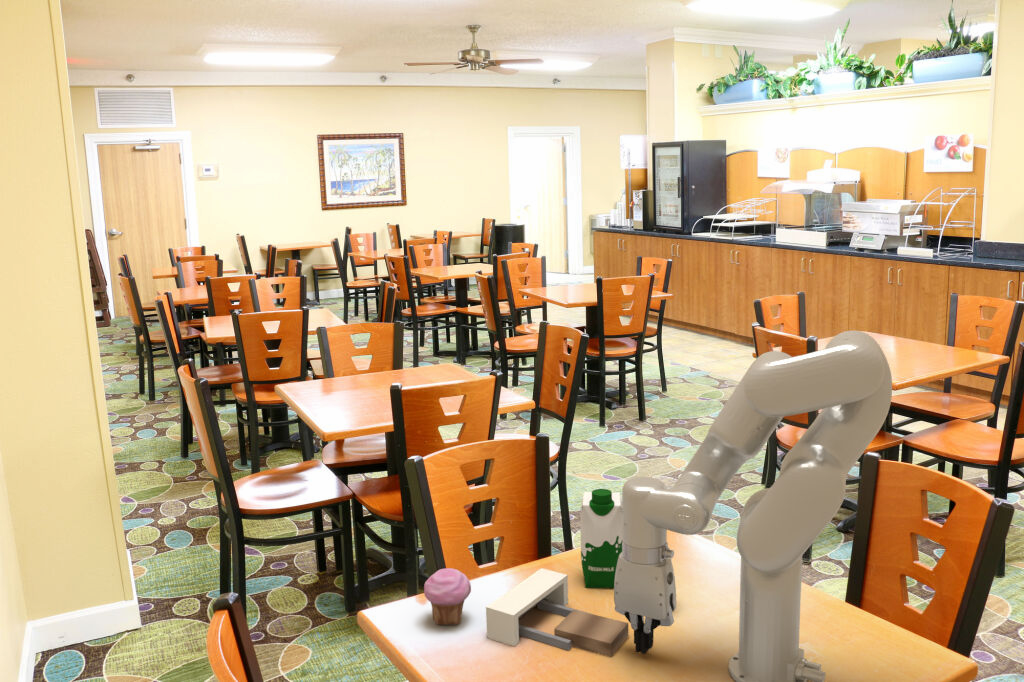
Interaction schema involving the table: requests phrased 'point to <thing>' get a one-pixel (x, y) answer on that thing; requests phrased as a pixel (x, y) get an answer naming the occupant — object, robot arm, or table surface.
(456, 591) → the cupcake
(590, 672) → the table surface
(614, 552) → the milk carton
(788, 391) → the robot arm
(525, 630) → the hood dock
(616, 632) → the walnut tile
